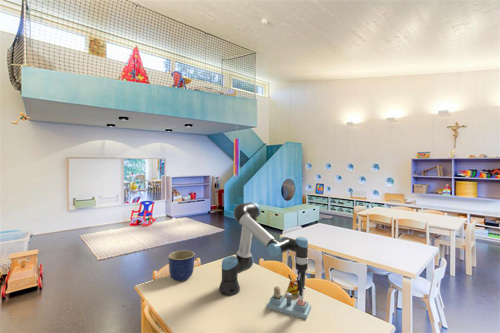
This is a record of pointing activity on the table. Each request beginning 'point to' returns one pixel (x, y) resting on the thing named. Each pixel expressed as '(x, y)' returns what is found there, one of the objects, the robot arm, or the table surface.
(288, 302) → the dial post
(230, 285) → the robot arm
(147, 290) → the table surface
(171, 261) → the planter
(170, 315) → the table surface
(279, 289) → the knob beech
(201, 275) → the table surface
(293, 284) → the toy
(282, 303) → the mount board
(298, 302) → the knob coral
